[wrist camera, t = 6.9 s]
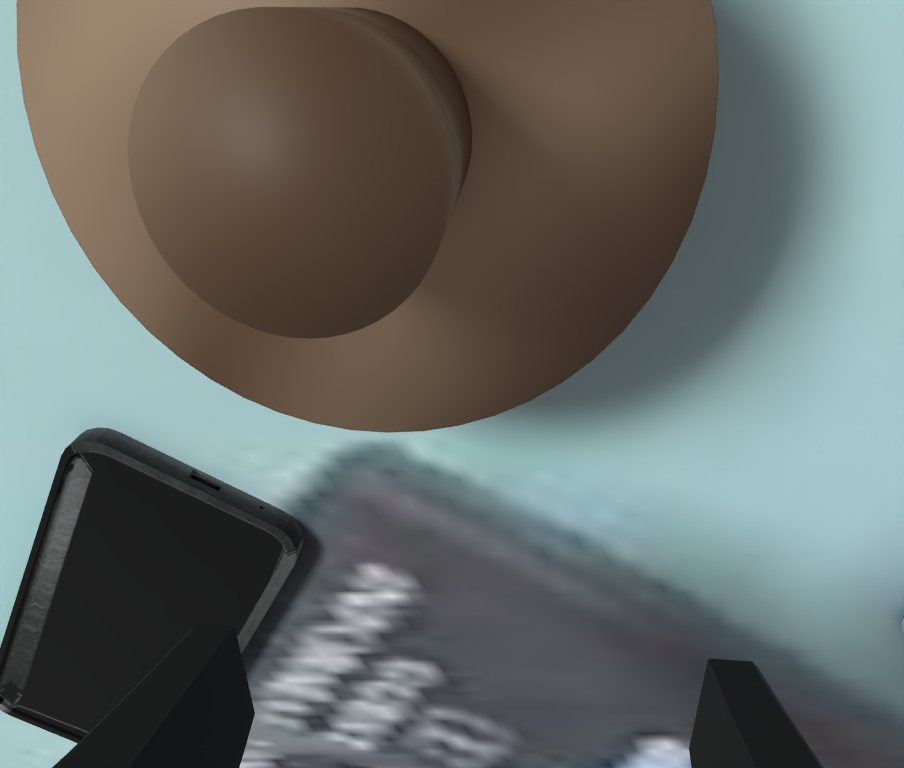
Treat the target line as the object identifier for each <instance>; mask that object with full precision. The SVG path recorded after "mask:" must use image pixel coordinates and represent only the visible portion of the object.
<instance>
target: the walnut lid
mask: <svg viewBox="0 0 904 768" xmlns="http://www.w3.org/2000/svg"><path fill="white" fill-rule="evenodd" d="M17 54H18V62H19V69H20V77H21V84H22V92H23V99H24V104H25V108H26V112H27V116H28V120H29V124H30V128H31V132H32V136H33V140H34V144H35V148H36V151H37V154H38V156H39V159H40V162H41V165H42V167H43V170H44V173H45V175H46V178H47V181H48V184H49V186H50V189H51V192H52V194H53V196H54V198H55V200H56V202H57V204H58V206H59V208H60V210H61V212H62V214H63V216H64V218H65V220H66V222H67V224H68V226H69V228H70V230H71V232H72V234H73V235H74V237H75V238H76V240H77V242H78V243H79V245H80V246H81V248H82V250H83V251H84V253H85V254H86V256H87V258H88V259H89V261H90V262H91V264H92V265H93V267H94V269H95V270H96V271H97V272H98V274H99V275H100V276H101V278H102V279H103V280H104V281H105V283H106V284H107V285H108V287H109V288H110V289H111V290H112V292H113V293H114V294H115V296H116V297H117V298H118V299H119V301H120V302H121V303H122V304H123V305H124V306H125V307H126V308H127V309H128V310H129V311H130V312H131V313H132V314H133V315H134V317H135V318H136V319H137V320H138V321H139V322H140V323H141V324H142V325H143V326H144V327H145V328H146V329H147V330H148V331H149V332H150V333H151V334H152V335H154V336H155V337H156V338H157V339H158V340H159V341H161V342H162V343H163V344H164V345H165V346H166V347H168V348H169V349H170V350H171V351H172V352H173V353H175V354H176V355H177V356H178V357H179V358H181V359H182V360H184V361H185V362H187V363H188V364H189V365H191V366H192V367H194V368H195V369H197V370H198V371H200V372H201V373H202V374H204V375H205V376H207V377H208V378H210V379H211V380H213V381H215V382H217V383H218V384H220V385H222V386H224V387H226V388H228V389H229V390H231V391H233V392H235V393H237V394H238V395H240V396H242V397H244V398H246V399H248V400H251V401H253V402H256V403H258V404H260V405H263V406H265V407H267V408H270V409H272V410H275V411H277V412H279V413H283V414H286V415H289V416H293V417H296V418H299V419H303V420H306V421H309V422H313V423H316V424H322V425H327V426H333V427H338V428H343V429H349V430H360V431H373V432H412V431H427V430H433V429H439V428H446V427H452V426H458V425H462V424H466V423H469V422H473V421H477V420H480V419H484V418H487V417H491V416H494V415H497V414H499V413H502V412H504V411H507V410H509V409H511V408H514V407H516V406H519V405H521V404H523V403H526V402H528V401H530V400H532V399H534V398H536V397H537V396H539V395H541V394H543V393H544V392H546V391H548V390H550V389H551V388H553V387H555V386H557V385H559V384H560V383H562V382H563V381H565V380H566V379H567V378H569V377H570V376H572V375H573V374H574V373H576V372H577V371H578V370H580V369H581V368H582V367H584V366H585V365H586V364H588V363H589V362H590V361H592V360H593V359H594V358H595V357H596V356H597V355H598V354H600V353H601V352H602V351H603V350H604V349H605V348H606V347H607V346H608V345H609V344H610V343H611V342H612V341H613V340H614V339H615V338H616V337H617V336H618V335H620V334H621V333H622V332H623V330H624V329H625V328H626V327H627V326H628V324H629V323H630V322H631V321H632V319H633V318H634V317H635V316H636V315H637V313H638V312H639V311H640V310H641V309H642V307H643V306H644V305H645V304H646V302H647V301H648V300H649V299H650V297H651V295H652V294H653V292H654V291H655V289H656V287H657V286H658V284H659V283H660V281H661V280H662V278H663V276H664V275H665V273H666V272H667V270H668V268H669V267H670V265H671V264H672V262H673V260H674V258H675V255H676V253H677V251H678V249H679V247H680V245H681V243H682V241H683V238H684V236H685V234H686V232H687V230H688V228H689V226H690V223H691V221H692V218H693V215H694V212H695V209H696V206H697V203H698V200H699V196H700V193H701V190H702V187H703V184H704V181H705V178H706V174H707V169H708V163H709V158H710V153H711V147H712V142H713V137H714V132H715V124H716V108H717V91H718V61H717V46H716V31H715V20H714V15H713V10H712V4H711V0H17Z"/></svg>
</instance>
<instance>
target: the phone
mask: <svg viewBox="0 0 904 768" xmlns="http://www.w3.org/2000/svg"><path fill="white" fill-rule="evenodd" d="M192 474H193V475H195V476H197V477H199V478H201V479H203V480H205V481H207V482H209V483H211V484H213V485H216V486H218V487H220V490H219V491H217V490H215V489H213V488H211V487H209V486H207V485H205V484H203V483H200V482H198V481H196V480H194V479H192V478H190V477H191V476H192ZM260 506H262V507H264V508H263V509H261V508H260ZM303 542H304V540H303V532H302V530H301V528H300V526H299V524H298V523H297V522H296V521H295V520H294V519H293V517H292V516H290V515H289V514H287V513H285V512H284V511H282V510H280V509H278V508H276V507H274V506H272V505H270V504H268V503H266V502H264V501H262V500H260V499H258V498H256V497H253V496H251V495H249V494H247V493H245V492H243V491H241V490H239V489H237V488H235V487H233V486H231V485H229V484H226V483H224V482H222V481H220V480H218V479H216V478H214V477H212V476H210V475H208V474H206V473H204V472H201V471H199V470H197V469H195V468H193V467H191V466H189V465H187V464H185V463H183V462H181V461H179V460H177V459H174V458H172V457H170V456H168V455H166V454H164V453H162V452H160V451H158V450H156V449H154V448H152V447H150V446H147V445H145V444H143V443H141V442H139V441H137V440H135V439H133V438H131V437H129V436H127V435H125V434H122V433H120V432H117V431H115V430H112V429H109V428H93V429H89V430H86V431H85V432H83V433H82V434H80V435H79V436H78V437H77V438H76V439H75V440H74V441H73V442H72V443H71V444H70V445H69V446H68V447H67V448H66V449H65V450H64V452H63V454H62V455H61V458H60V461H59V465H58V468H57V471H56V474H55V477H54V480H53V483H52V487H51V490H50V493H49V496H48V499H47V502H46V506H45V509H44V512H43V515H42V518H41V521H40V524H39V528H38V531H37V534H36V537H35V540H34V543H33V546H32V550H31V553H30V556H29V559H28V562H27V565H26V569H25V572H24V575H23V578H22V581H21V584H20V587H19V591H18V594H17V597H16V600H15V603H14V606H13V610H12V613H11V616H10V619H9V622H8V625H7V628H6V632H5V635H4V638H3V641H2V644H1V647H0V710H1V711H3V712H5V713H7V714H8V715H10V716H13V717H15V718H18V719H20V720H22V721H25V722H27V723H30V724H32V725H35V726H37V727H40V728H42V729H44V730H47V731H49V732H52V733H54V734H57V735H59V736H61V737H64V738H66V739H69V740H71V741H74V742H76V743H79V742H80V741H81V740H82V739H83V738H84V737H85V736H86V735H87V734H88V733H89V732H90V731H91V730H92V729H93V728H94V727H95V726H96V725H97V724H98V723H99V722H100V721H101V720H102V719H103V718H105V717H106V716H107V715H108V714H109V713H110V712H111V711H112V710H113V709H114V708H115V707H116V706H117V705H118V704H119V703H120V702H121V701H122V700H123V699H124V698H125V697H126V696H127V695H128V694H129V693H130V692H131V691H132V690H133V689H134V688H135V687H136V686H137V685H138V684H139V683H140V681H141V680H142V679H143V678H144V677H145V676H146V675H147V674H148V673H149V672H150V671H151V670H152V669H153V668H154V667H155V666H156V665H157V664H158V663H159V662H160V661H161V660H162V659H163V658H164V657H165V656H166V655H167V654H168V653H169V652H170V651H171V650H172V649H173V648H174V647H175V646H176V645H177V643H178V642H179V641H180V640H181V639H182V638H183V637H184V636H185V635H186V634H187V633H188V632H189V631H190V630H191V629H192V628H193V627H195V626H196V625H197V624H209V625H223V626H235V630H236V634H237V639H238V643H239V647H240V652H241V654H242V653H243V651H244V649H245V648H246V646H247V644H248V643H249V641H250V639H251V638H252V636H253V634H254V632H255V631H256V629H257V627H258V626H259V624H260V622H261V621H262V619H263V617H264V616H265V614H266V612H267V611H268V609H269V607H270V606H271V604H272V602H273V600H274V599H275V597H276V595H277V594H278V592H279V590H280V589H281V587H282V585H283V584H284V582H285V580H286V579H287V577H288V575H289V573H290V572H291V570H292V568H293V567H294V565H295V562H296V560H297V558H298V555H299V553H300V551H301V548H302V545H303Z"/></svg>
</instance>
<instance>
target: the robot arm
mask: <svg viewBox="0 0 904 768" xmlns="http://www.w3.org/2000/svg"><path fill="white" fill-rule="evenodd" d="M901 627H902V630H903V631H904V619H903V620H902V622H901ZM254 714H255V712H254V708H253V703H252V699H251V695H250V690H249V686H248V682H247V677H246V673H245V669H244V665H243V660H242V656H241V652H240V647H239V643H238V639H237V634H236V630H235V626H223V625H209V624H197V625H196V626H195V627H193V628H192V629H191V630H190V631H189V632H188V633H187V634H186V635H185V636H184V637H183V638H182V639H181V640H180V641H179V642H178V643H177V645H176V646H175V647H174V648H173V649H172V650H171V651H170V652H169V653H168V654H167V655H166V656H165V657H164V658H163V659H162V660H161V661H160V662H159V663H158V664H157V665H156V666H155V667H154V668H153V669H152V670H151V671H150V672H149V673H148V674H147V675H146V676H145V677H144V678H143V679H142V680H141V681H140V683H139V684H138V685H137V686H136V687H135V688H134V689H133V690H132V691H131V692H130V693H129V694H128V695H127V696H126V697H125V698H124V699H123V700H122V701H121V702H120V703H119V704H118V705H117V706H116V707H115V708H114V709H113V710H112V711H111V712H110V713H109V714H108V715H107V716H106V717H105V718H103V719H102V720H101V721H100V722H99V723H98V724H97V725H96V726H95V727H94V728H93V729H92V730H91V731H90V732H89V733H88V734H87V735H86V736H85V737H84V738H83V739H82V740H81V741H80V742H79V743H78V744H77V745H76V746H75V747H74V748H73V749H72V750H71V751H70V752H69V753H67V754H66V755H65V756H64V757H63V758H62V759H61V760H60V761H59V762H58V763H57V764H56V765H54V766H53V767H52V768H239V766H240V763H241V760H242V756H243V753H244V750H245V746H246V743H247V739H248V736H249V732H250V729H251V725H252V721H253V718H254ZM689 751H690V759H691V766H692V768H823V766H822V765H821V763H820V762H819V760H818V759H817V758H816V756H815V755H814V753H813V752H812V750H811V749H810V747H809V746H808V744H807V743H806V741H805V740H804V738H803V737H802V735H801V734H800V732H799V731H798V730H797V728H796V727H795V725H794V723H793V722H792V720H791V719H790V717H789V716H788V714H787V713H786V711H785V710H784V708H783V707H782V705H781V704H780V702H779V701H778V699H777V697H776V696H775V694H774V693H773V691H772V690H771V688H770V686H769V685H768V683H767V682H766V680H765V679H764V677H763V675H762V674H761V672H760V670H759V669H758V668H757V666H756V665H755V664H754V663H753V662H751V661H736V660H722V659H708V662H707V667H706V672H705V676H704V681H703V686H702V690H701V695H700V700H699V705H698V709H697V714H696V719H695V723H694V728H693V733H692V737H691V742H690V747H689Z"/></svg>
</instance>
